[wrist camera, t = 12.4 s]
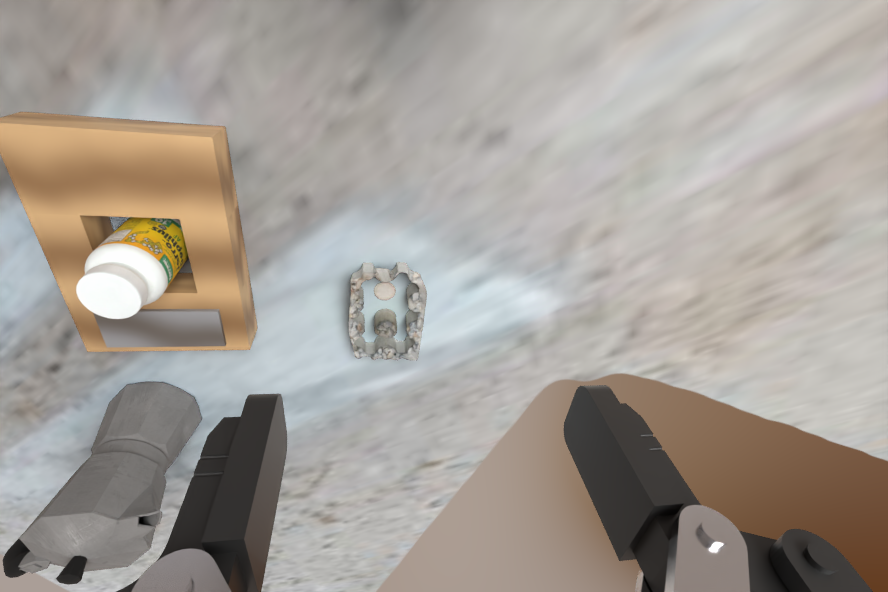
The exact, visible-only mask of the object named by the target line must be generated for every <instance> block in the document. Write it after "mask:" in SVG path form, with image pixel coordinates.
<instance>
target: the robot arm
mask: <svg viewBox="0 0 888 592" xmlns="http://www.w3.org/2000/svg"><path fill="white" fill-rule="evenodd" d="M564 437H565V441H566V444H567V447H568V449H569V451H570V453H571V455H572V457H573V460H574V462H575V464H576V466H577V468H578V471H579V473H580V475H581V477H582V479H583V481H584V484H585V486H586V488H587V490H588V492H589V495H590V497H591V499H592V501H593V504H594V506H595V508H596V510H597V512H598V515H599V517H600V519H601V521H602V523H603V526H604V528H605V530H606V532H607V534H608V536H609V539H610V541H611V543H612V545H613V548H614V550H615V552H616V554H617V556H618V559H619V561H623V560H633V559H637V561H638V564H639V566H640V568H641V570H640V571H639V573H638V577H637V584H636V590H635V592H873V591H872V590H871V589H870V588H869V586H868V585H867V584H866V583H865V581H864V580H863V579H862V578H861V577H860V575H859V574H858V573H857V572H856V571H855V569H854V568H853V567H852V565H851V564H850V563H849V562H848V561H847V559H846V558H845V557H844V556H843V555H842V554H841V553H840V552H839V551H838V550H837V549H836V548H835V547H833V546H832V545H831V544H830V543H828V542H827V541H825V540H824V539H822V538H820V537H819V536H817V535H815V534H813V533H811V532H808V531H805V530H800V529H791V530H788V531H786V532H785V533H784V534H783V535H782V536H781V537H780V538H779V539H778V540H774V539H770V538H766V537H762V536H758V535H754V534H750V533H746V532H742V531H739V530H738V529H737V528H736V527H735V526H734V525H733V524H732V523H731V522H730V521H729V520H728V519H727V518H726V517H725V516H723V515H722V514H720V513H719V512H717V511H715V510H713V509H711V508H708V507H705V506H702V505H701V504H700V503H699V501H698V500H697V499H696V497H695V496H694V494H693V493H692V491H691V490H690V488H689V487H688V485H687V484H686V482H685V481H684V479H683V478H682V476H681V475H680V473H679V472H678V470H677V469H676V467H675V466H674V464H673V463H672V461H671V460H670V458H669V457H668V455H667V454H666V452H665V451H663V450H662V446H661V445H660V443H659V442H658V440H657V439H656V438H655V437H653V433H652V431H651V430H650V428H649V427H648V426H647V424H646V423H645V421H644V420H643V418H642V417H641V416H640V415H638V414H637V413H636V412H635V411H634V410H633V409H632V408H631V407H629V406H628V405H627V404H620V403H619V401H618V399H617V398H616V396H615V395H614V394H613V392H612V390H611V389H610V388H609V387H608V386H606V385H604V386H603V385H599V386H580V387H578V389H577V390H576V393H575V395H574V398H573V401H572V403H571V406H570V409H569V412H568V414H567V417H566V419H565V422H564ZM286 452H287V431H286V423H285V416H284V408H283V401H282V396H281V394H256V395H249V396H248V397H247V399H246V402H245V405H244V408H243V411H242V415H241V417H224V418H223V419H222V420H221V422H220V423H219V424H218V425H217V426H216V427H215V428H214V429H213V431H212V432H211V433H210V434H209V435H208V437H207V440H206V442H205V445H204V448H203V450H202V453H201V456H200V457H201V458H200V460H199V461H198V464H197V466H196V469H195V472H194V477H192V480H191V482H190V485H189V488H188V490H187V493H186V496H185V498H184V501H183V503H182V506H181V509H180V511H179V514H178V517H177V519H176V522H175V525H174V527H173V530H172V533H171V535H170V538H169V541H168V543H167V545H166V547H165V550H164V551H163V553H162V554H161V556H160V557H159V559H158V560H157V561H156V562H155V563H154V564H153V565H151V566H150V567H149V568H148V569H147V570H146V571H145V572H144V573H143V575H142V576H141V577H140V578H139V579H137V580H136V581H135V582H133V583H132V584H130V585H128V586H127V587H125V588H123V589H121V590H119V591H117V592H261V589H262V584H263V579H264V573H265V568H266V562H267V557H268V552H269V546H270V541H271V535H272V530H273V524H274V519H275V514H276V508H277V503H278V497H279V492H280V487H281V481H282V476H283V470H284V465H285V459H286Z"/></svg>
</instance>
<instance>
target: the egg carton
mask: <svg viewBox="0 0 888 592" xmlns="http://www.w3.org/2000/svg"><path fill="white" fill-rule="evenodd" d="M399 273H406V274H407V276H408V278H409V280H410V281H411V282H412V283H410V284H409V285H408V287H407V289H406V292H407V300H408V306H409V309H411V310H409V311H408V312H407V314H406V326H407V329H406V331H407V335H408V336H407V337H406V338H405V340H404V341H397V340H396V339H395V338H394V337H393V336H395V334H396V333H397V323H396V315H395V313H394V312H393V311H391V310H390V309H381V310H379V311H377V313H376V314H375V317H374V329H375V333H376V334H377V335H379V336H378V337H377V338H376V339H375V342H365V340H364V338H363V337H362V334H363V333H364V332H365V329H364V315H363V314H362V312H360V311H361V310H362V309H363V304H364V302H363V289H362V287H361V284H362V282H363V281H366V280H370V279H372V278H373V277H374V276H375V277H376V279H377V280H379V281H382V282H381V283H379V284H377V285H376V286H375V288H374V294H375V296H376V297H377V298H378V299H381V300H389V299H391V298H392V297H393V296H394V295H395V292H396V289H395V287H394V285H393V284H391V283H390V281H392V280H394V279H395V278H396V276H397V275H398V274H399ZM350 285H351V298H350V306H349V334H350V339H351V342H352V346H353V350H354V355H355V357H356V358H361V357H363V356H368V357H371V358H372V359H373V360H375V359H378V358H383V359H386V360H387V359H393V360H398V359H401V358H404V359H407V360H416V361H417V359H418V355H419V350H420V341H421V336H422V330H423V322H424V314H425V306H426V298H427V292H426V288H425V285H424V283H423V281H422V279H421V276H420V274H418V272H414V271H412V270H410V269H409V267H408V266H407V263H401V262H398V263H396V266H395V268H394V269H393V270H392V271H390V270H389V269H382V268H375V267H374V265H373V263H363V264H362V267H361V269H360V270H359V271H357V272H355V273H353V274H352V277H351V280H350Z"/></svg>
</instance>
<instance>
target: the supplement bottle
mask: <svg viewBox="0 0 888 592" xmlns="http://www.w3.org/2000/svg"><path fill="white" fill-rule="evenodd" d="M188 257H189V256H188V252H187V248H186V243H185V239H184V235H183V231H182V227H181V223H180V222H179V221H178V220H177V219H167V218H140V217H130V218H129V219H128V220H127V221H125V222H124V223H123V224H122V225H121V226H120V227H119V228H118V229H117V230H116V231H114V232H113V233H112V234H111V235H110V236H109V237H108V238H107V239H106V240H105V241H103V242H102V243H101V244H100V245H99V246H98V247H97V248H96V249H95V250H94V251H93V252H92V253H91V254H90V255H89V256H88V258H87V260H86V263H85V275H84V276H83V277H82V278H81V279H80V280H79V281H78V283H77V286H76V293H77V296H78V298H79V300H80V301H81V303H82V304H83V305H84V306H85V307H86V308H87V309H88V310H90V311H91V312H93V313H95V314H97V315H99V316H102V317H106V318H110V319H124V318H128V317H131V316H133V315H135V314H136V313H137V312H138V311H139V310H140V309H141V307H142V306H143V305H147V304H150V303H152V302H154V301H156V300H157V299H159V298H160V297H161V296H162V295H163V293H164V292H165V291H166V289H167V288H168V286H169V285H170V283H171V282H172V280H173V279H174V278H175V276H176V275H177V273H178V272H179V270H180V269H181V268H182V266H183V265H184V263H185V262H186V260H187V259H188Z"/></svg>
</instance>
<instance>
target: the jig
mask: <svg viewBox="0 0 888 592" xmlns="http://www.w3.org/2000/svg"><path fill="white" fill-rule="evenodd" d="M0 154H1V156H2V159H3V161H4V163H5V165H6V168H7V170H8V172H9V175H10V177H11V179H12V181H13V184H14V186H15V188H16V190H17V193H18V195H19V197H20V200H21V202H22V204H23V206H24V209H25V211H26V213H27V215H28V218H29V220H30V222H31V225H32V227H33V229H34V231H35V234H36V236H37V238H38V240H39V243H40V245H41V247H42V250H43V252H44V254H45V256H46V259H47V261H48V263H49V265H50V268H51V270H52V272H53V275H54V277H55V279H56V281H57V284H58V286H59V288H60V290H61V293H62V295H63V297H64V300H65V302H66V304H67V306H68V309H69V311H70V313H71V315H72V318H73V320H74V322H75V324H76V327H77V329H78V331H79V334H80V336H81V338H82V340H83V343H84V345H85V347H86V349H87V352H105V351H186V350H250V348H251V345H252V342H253V339H254V337H255V334H256V331H257V321H256V315H255V309H254V303H253V296H252V290H251V284H250V278H249V271H248V265H247V259H246V253H245V246H244V240H243V234H242V227H241V221H240V215H239V209H238V202H237V196H236V190H235V184H234V177H233V171H232V165H231V158H230V152H229V146H228V140H227V133H226V127H224V126H210V125H196V124H183V123H169V122H155V121H141V120H128V119H114V118H100V117H86V116H73V115H59V114H45V113H31V112H18V113H15V114H12V115H8V116H5V117H1V118H0ZM109 216H113V217H140V218H167V219H180V223H181V227H182V231H183V235H184V239H185V243H186V248H187V252H188V256H189V260H190V264H191V268H192V273H177V275H176V276H175V278H174V279H173V280H172V282H171V283H170V285H169V286H168V288H167V289H166V291H165V292H164V293H163V295H162V296H161V297H160V298H159V299H157V300H156V301H154V302H152V303H150V304H147V305H143V306H142V307H141V309H140V310H139V311H138V312H137V313H136V314H135V315H133V316H131V317H128V318H124V319H110V318H106V317H102V316H99V315H97V314H95V313H93V312H91V311H90V310H88V309H87V308H86V307H85V306H84V305H83V304H82V303H81V301H80V300H79V298H78V296H77V293H76V286H77V283H78V281H79V280H80V279H81V278H82V277H83V276H84V275H85V263H86V260H87V258H88V256H89V255H90V254H91V253H92V252H93V251H94V250H95V249H96V248H97V247H98V246H99V245H100V244H101V243H102V242H103V241H105V240H106V239H107V238H108V237H109V236H110V235H111V234H112V233H113V232H114V231H113V228H112V225H111V222H110V219H109Z"/></svg>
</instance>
